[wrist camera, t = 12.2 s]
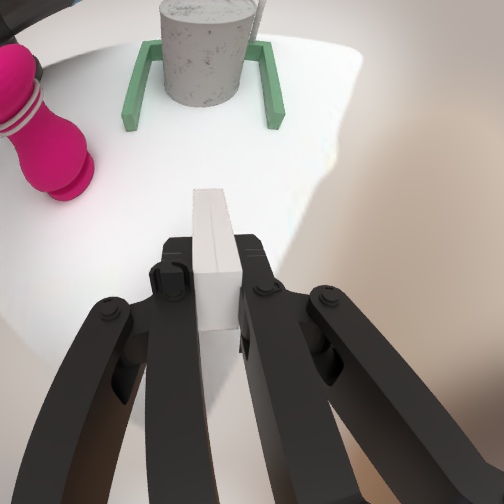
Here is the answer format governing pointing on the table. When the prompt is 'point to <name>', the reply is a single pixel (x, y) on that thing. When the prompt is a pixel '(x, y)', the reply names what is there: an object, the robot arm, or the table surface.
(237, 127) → the table surface
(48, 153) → the pepper mill
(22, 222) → the table surface
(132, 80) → the putting stop
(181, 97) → the concrete cylinder
